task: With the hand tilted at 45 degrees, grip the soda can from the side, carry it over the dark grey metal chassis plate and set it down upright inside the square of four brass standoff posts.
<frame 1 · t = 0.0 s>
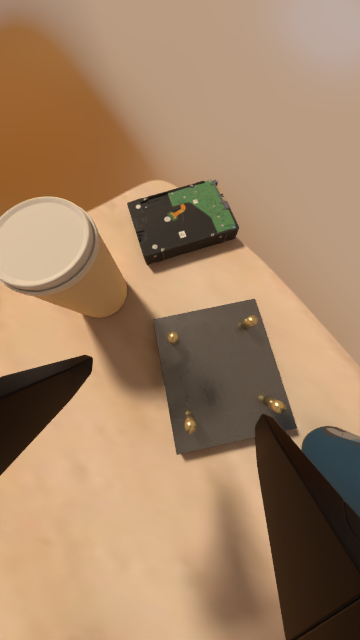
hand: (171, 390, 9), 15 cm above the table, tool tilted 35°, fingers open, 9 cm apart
coffee cup: (102, 293, 27), on the table
soda can: (324, 454, 21), on the table
disk drive: (181, 228, 30), on the table
chassis plate: (217, 369, 24), on the table
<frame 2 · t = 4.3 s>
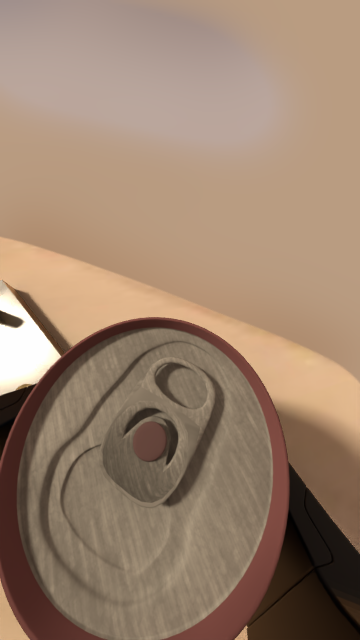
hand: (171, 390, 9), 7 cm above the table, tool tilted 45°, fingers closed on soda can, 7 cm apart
soda can: (166, 413, 15), on the table, touching gripper
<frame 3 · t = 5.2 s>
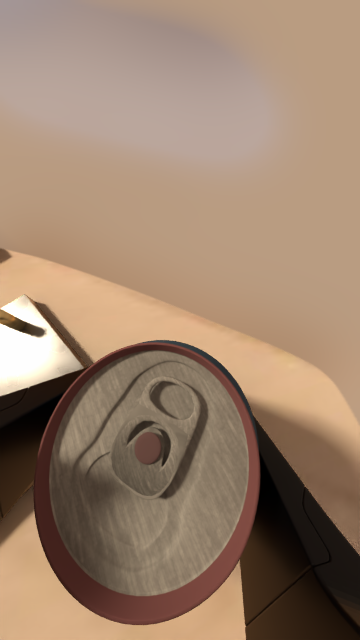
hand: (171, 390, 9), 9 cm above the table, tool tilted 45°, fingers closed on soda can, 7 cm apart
soda can: (174, 412, 16), point 1 cm above the table, touching gripper
chassis plate: (5, 396, 17), on the table
when the fingers open (10 cm above the table, at t = 8.8 s): soda can stays where it is, resting on chassis plate.
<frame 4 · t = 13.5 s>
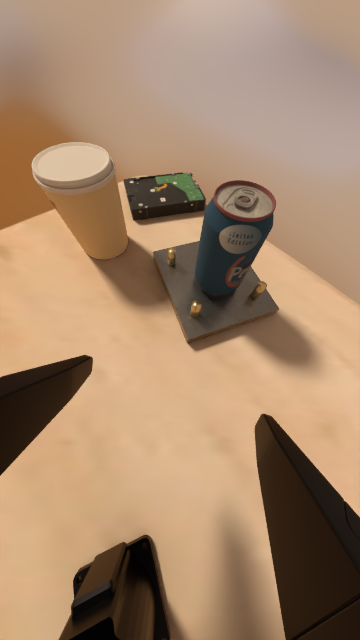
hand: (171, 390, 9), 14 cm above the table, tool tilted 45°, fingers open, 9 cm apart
coffee cup: (106, 244, 32), on the table
soda can: (216, 280, 27), point 1 cm above the table, touching chassis plate
disk drive: (164, 203, 38), on the table
chassis plate: (210, 284, 29), on the table
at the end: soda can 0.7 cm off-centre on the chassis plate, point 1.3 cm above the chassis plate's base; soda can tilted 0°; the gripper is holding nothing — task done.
